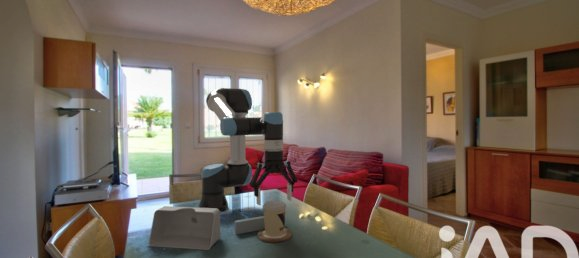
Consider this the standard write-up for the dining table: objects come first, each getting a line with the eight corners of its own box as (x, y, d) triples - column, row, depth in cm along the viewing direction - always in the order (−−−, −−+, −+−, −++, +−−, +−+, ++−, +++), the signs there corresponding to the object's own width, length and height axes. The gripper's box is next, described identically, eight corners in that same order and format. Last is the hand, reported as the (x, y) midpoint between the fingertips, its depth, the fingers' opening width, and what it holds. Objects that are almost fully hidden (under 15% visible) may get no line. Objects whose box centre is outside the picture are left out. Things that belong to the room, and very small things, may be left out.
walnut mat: (252, 232, 116) (252, 229, 116) (283, 226, 122) (283, 224, 122) (264, 245, 103) (264, 243, 103) (297, 238, 110) (297, 236, 109)
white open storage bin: (226, 232, 116) (226, 203, 116) (210, 250, 100) (209, 216, 100) (172, 229, 120) (171, 201, 120) (148, 246, 104) (147, 213, 104)
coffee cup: (283, 238, 107) (283, 207, 107) (260, 236, 109) (260, 206, 109) (288, 229, 116) (288, 201, 116) (267, 227, 118) (266, 199, 118)
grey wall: (234, 232, 116) (234, 220, 116) (282, 223, 125) (282, 212, 125) (236, 234, 114) (235, 222, 114) (284, 225, 123) (284, 214, 123)
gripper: (246, 152, 103) (247, 209, 104) (305, 149, 114) (305, 200, 114) (241, 151, 110) (242, 203, 110) (296, 147, 121) (297, 195, 121)
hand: (274, 202), depth 112 cm, fingers open, 13 cm apart
